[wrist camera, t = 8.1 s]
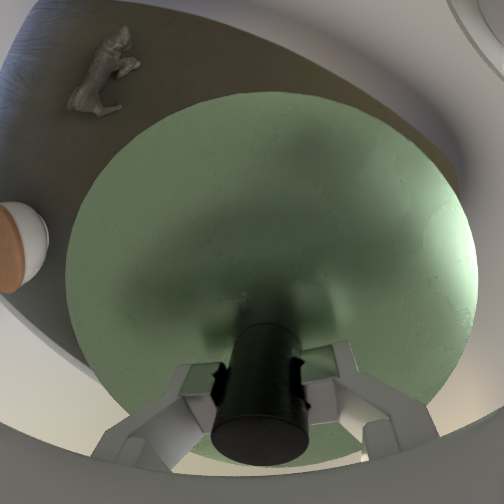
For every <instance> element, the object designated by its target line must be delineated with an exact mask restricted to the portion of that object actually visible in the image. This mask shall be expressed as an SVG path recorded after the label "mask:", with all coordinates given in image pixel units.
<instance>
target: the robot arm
mask: <svg viewBox="0 0 504 504" xmlns="http://www.w3.org/2000/svg"><path fill="white" fill-rule="evenodd" d="M478 5H479V8H480V11H481V13H482V15H483V17H484V19H485V21H486V23H487V24H488V26H489V28H490V29H491V31H492V32H493V34H494V35H495V36H496V38H497V39H498V40H499V41H500V43H501V44H502V45H503V46H504V0H478ZM299 358H300V364H301V367H300V374H301V385H302V390H303V395H304V400H305V402H307V408H308V419H309V423H310V425H317V424H324V423H330V422H336V421H338V422H339V423H340V424H341V425H342V426H343V427H344V428H345V429H346V430H347V431H348V432H350V433H351V434H352V435H353V436H354V437H355V438H356V439H357V440H358V441H359V442H361V443H362V459H361V462H359V463H355V464H350V465H346V466H341V467H335V468H330V469H324V470H317V471H310V472H303V473H294V474H283V475H270V476H241V477H239V476H238V477H233V476H230V477H228V476H202V475H188V474H178V473H172V471H171V469H172V468H173V467H174V466H175V465H176V464H177V463H178V462H179V461H180V460H181V459H182V458H183V457H184V456H185V455H186V454H187V453H188V452H189V451H190V450H191V449H192V448H193V447H194V446H195V445H196V444H197V443H198V442H199V441H200V440H201V439H202V438H203V437H204V434H211V430H212V426H213V422H214V419H215V415H216V411H217V407H218V403H219V400H220V396H221V392H222V388H223V384H224V381H225V377H226V373H227V367H226V365H225V363H223V362H211V363H196V364H182V365H179V366H177V368H176V370H175V372H174V374H173V376H172V378H171V380H170V382H169V384H168V386H167V388H166V390H165V392H164V394H163V396H158V397H157V398H155V399H154V400H152V401H151V402H149V403H148V404H146V405H145V406H143V407H142V408H140V409H139V410H137V411H136V412H134V413H133V414H131V415H130V416H128V417H127V418H125V419H124V420H122V421H121V422H119V423H118V424H116V425H114V426H113V427H112V428H110V429H108V430H107V431H105V433H104V434H103V436H102V438H101V439H100V441H99V443H98V444H97V446H96V448H95V449H94V451H93V453H92V455H91V457H89V456H85V455H82V454H79V453H75V452H72V451H69V450H66V449H63V448H60V447H57V446H54V445H52V444H49V443H47V442H44V441H41V440H39V439H36V438H34V437H31V436H29V435H27V434H25V433H22V432H20V431H18V430H16V429H13V428H11V427H9V426H7V425H5V424H3V423H1V422H0V504H504V406H503V407H501V408H499V409H497V410H496V411H494V412H492V413H490V414H489V415H487V416H485V417H483V418H481V419H479V420H477V421H475V422H473V423H471V424H469V425H467V426H465V427H463V428H460V429H458V430H456V431H454V432H451V433H449V434H447V435H444V436H442V437H440V436H439V434H438V432H437V430H436V427H435V425H434V423H433V421H432V418H431V416H430V414H429V412H428V410H427V408H426V405H425V404H423V403H421V402H420V401H418V400H416V399H414V398H412V397H410V396H408V395H406V394H404V393H402V392H400V391H399V390H397V389H395V388H393V387H391V386H389V385H387V384H386V383H384V382H382V381H380V380H378V379H376V378H375V377H373V376H371V375H369V374H367V373H366V372H361V373H359V370H358V367H357V364H356V361H355V358H354V355H353V352H352V349H351V346H350V343H349V341H348V340H344V341H340V342H336V343H332V345H331V344H330V345H325V346H320V347H316V348H311V349H306V350H300V351H299Z"/></svg>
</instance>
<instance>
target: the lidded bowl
mask: <svg viewBox="0 0 504 504" xmlns="http://www.w3.org/2000/svg"><path fill="white" fill-rule="evenodd" d="M48 245H49V234H48V229H47V226H46V224H45V222H44V220H43V218H42V217H41V216H40V215H39V214H38V213H37V212H36V211H35V210H34V209H33V208H31V207H30V206H28V205H26V204H24V203H21V202H14V201H11V202H2V203H0V291H1V292H3V293H12V292H14V291H16V290H17V289H18V288H19V287H20V286H22V285H23V284H25V283H26V282H28V281H29V280H30V279H31V278H33V277H34V276H35V275H36V274H37V272H38V271H39V270H40V268H41V267H42V265H43V263H44V260H45V257H46V253H47V249H48Z"/></svg>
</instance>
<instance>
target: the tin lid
mask: <svg viewBox="0 0 504 504" xmlns="http://www.w3.org/2000/svg"><path fill="white" fill-rule="evenodd" d="M65 283H66V296H67V304H68V309H69V314H70V319H71V323H72V326H73V329H74V332H75V335H76V338H77V341H78V343H79V346H80V348H81V350H82V352H83V354H84V356H85V358H86V360H87V362H88V364H89V366H90V367H91V369H92V371H93V372H94V374H95V375H96V377H97V378H98V380H99V381H100V383H101V384H102V385H103V386H104V388H105V389H106V390H107V391H108V393H109V394H110V395H111V396H112V397H113V399H114V400H115V401H117V403H118V404H119V405H120V406H121V407H122V408H123V409H125V411H127V412H128V413H129V414H130V415H131V414H133V413H134V412H136V411H137V410H139V409H140V408H142V407H143V406H145V405H146V404H148V403H149V402H151V401H152V400H154V399H155V398H157V397H158V396H163V394H164V392H165V390H166V388H167V386H168V384H169V382H170V380H171V378H172V376H173V374H174V372H175V370H176V368H177V366H179V365H182V364H196V363H211V362H223V363H225V365H226V367H227V373H226V377H225V381H224V384H223V388H222V392H221V396H220V400H219V403H218V407H217V411H216V415H215V419H214V422H213V426H212V430H211V434H204V437H203V438H202V439H201V440H200V441H199V442H198V443H197V444H196V445H195V446H194V447H193V448H192V449H191V450H190V452H193V453H195V454H198V455H200V456H203V457H207V458H210V459H213V460H217V461H221V462H225V463H230V464H235V465H241V466H249V467H259V468H287V467H300V466H306V465H313V464H318V463H323V462H327V461H331V460H335V459H338V458H342V457H344V456H347V455H350V454H352V453H355V452H358V451H360V450H362V443H361V442H359V441H358V440H357V439H356V438H355V437H354V436H353V435H352V434H351V433H350V432H348V431H347V430H346V429H345V428H344V427H343V426H342V425H341V424H340V423H339V422H338V421H336V422H330V423H324V424H317V425H310V423H309V419H308V408H307V402H305V400H304V395H303V390H302V385H301V374H300V367H301V364H300V358H299V351H300V350H306V349H311V348H316V347H320V346H325V345H330V344H331V345H332V343H336V342H340V341H344V340H348V341H349V343H350V346H351V349H352V352H353V355H354V358H355V361H356V364H357V367H358V370H359V373H361V372H366V373H367V374H369V375H371V376H373V377H375V378H376V379H378V380H380V381H382V382H384V383H386V384H387V385H389V386H391V387H393V388H395V389H397V390H399V391H400V392H402V393H404V394H406V395H408V396H410V397H412V398H414V399H416V400H418V401H420V402H421V403H423V404H425V405H427V404H428V403H429V402H430V401H431V400H432V398H433V397H434V396H435V395H436V394H437V393H438V391H439V390H440V389H441V387H442V386H443V385H444V384H445V382H446V381H447V379H448V378H449V376H450V375H451V373H452V371H453V370H454V368H455V367H456V365H457V363H458V361H459V359H460V357H461V355H462V352H463V350H464V348H465V346H466V343H467V340H468V337H469V334H470V331H471V328H472V325H473V321H474V316H475V310H476V305H477V298H478V265H477V257H476V250H475V244H474V241H473V237H472V233H471V230H470V226H469V223H468V220H467V217H466V215H465V213H464V211H463V209H462V206H461V204H460V202H459V200H458V198H457V196H456V194H455V192H454V191H453V189H452V188H451V186H450V185H449V183H448V182H447V180H446V179H445V177H444V176H443V175H442V173H441V172H440V170H439V169H438V168H437V166H436V165H435V164H434V163H433V162H432V161H431V160H430V159H429V158H428V157H427V156H426V155H425V154H424V153H423V152H422V151H421V150H420V149H419V148H418V147H417V146H416V145H415V144H414V143H413V142H412V141H410V140H409V139H408V138H406V137H405V136H404V135H402V134H401V133H399V132H398V131H397V130H395V129H394V128H392V127H391V126H390V125H388V124H387V123H385V122H383V121H381V120H379V119H377V118H376V117H373V116H371V115H369V114H367V113H365V112H363V111H361V110H359V109H357V108H355V107H352V106H350V105H346V104H343V103H340V102H336V101H333V100H329V99H326V98H322V97H318V96H314V95H307V94H298V93H289V92H279V91H272V92H253V93H239V94H234V95H229V96H225V97H220V98H216V99H212V100H208V101H204V102H200V103H198V104H195V105H193V106H190V107H188V108H185V109H183V110H181V111H178V112H176V113H174V114H171V115H169V116H167V117H166V118H164V119H162V120H161V121H159V122H157V123H156V124H154V125H153V126H151V127H149V128H148V129H146V130H145V131H143V132H142V133H140V134H139V135H138V136H136V137H135V138H134V139H133V140H132V141H131V142H130V143H128V144H127V145H126V146H125V147H124V148H123V149H122V150H121V151H120V152H118V153H117V154H116V155H115V156H114V157H113V159H112V160H111V161H110V162H109V163H108V165H107V166H106V167H105V168H104V170H103V171H102V172H101V173H100V175H99V176H98V177H97V178H96V180H95V181H94V183H93V185H92V187H91V188H90V190H89V192H88V194H87V195H86V197H85V199H84V201H83V202H82V204H81V207H80V209H79V212H78V215H77V217H76V220H75V223H74V225H73V228H72V232H71V236H70V241H69V245H68V250H67V257H66V273H65Z"/></svg>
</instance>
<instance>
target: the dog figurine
mask: <svg viewBox="0 0 504 504" xmlns="http://www.w3.org/2000/svg"><path fill="white" fill-rule="evenodd" d="M131 49H132V43H131V35H130V33H129V29H127V27H126V26H124V27H122V28H121V29H120V30H118V31H116V32H114V33H112V34H111V35H109V36H108V37H107V38H106V39H105V40H104V41H102V43H101V44H100V46H99V47H98V48H97V50H96V51H95V52H94V54H93V56H92V59H91V62H90V66H89V68H88V70H87V73H86V75H85V78H84V80H83V82H82V84H81V85H80V86H79V87H78V88H77V87H76V88H74V90H73V91H72V92H71V94H70V96H69V98H68V100H67V104H66V108H67V110H72V109H75V110H76V111H79V112H93V113H95V114H96V115H97V116H98V117H101V116H103V115H105V114H108V113H112V112H114V111H116V110H120V109H121V108H122V105H121V104H120V103H116V104H114V105H113V106H108V107H103V106H102V103H101V99H100V97H99V95H98V93H99V92H100V91H101V90H102V89H103V88H104V87H105V85H106V83H107V81H108V79H109V77H110V74H111V73H112V72H113V71H117V70H118V71H117V73H116V74H115V77H116V79H119V78H121V77H123V76H125V75H126V74H128V73H129V72H130V71H131V70H133V69H136V68H138V67H139V66H140V65H141V61H140V60H138V61H136V59H135V57H121V51H124V52H126V51H129V50H131Z"/></svg>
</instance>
